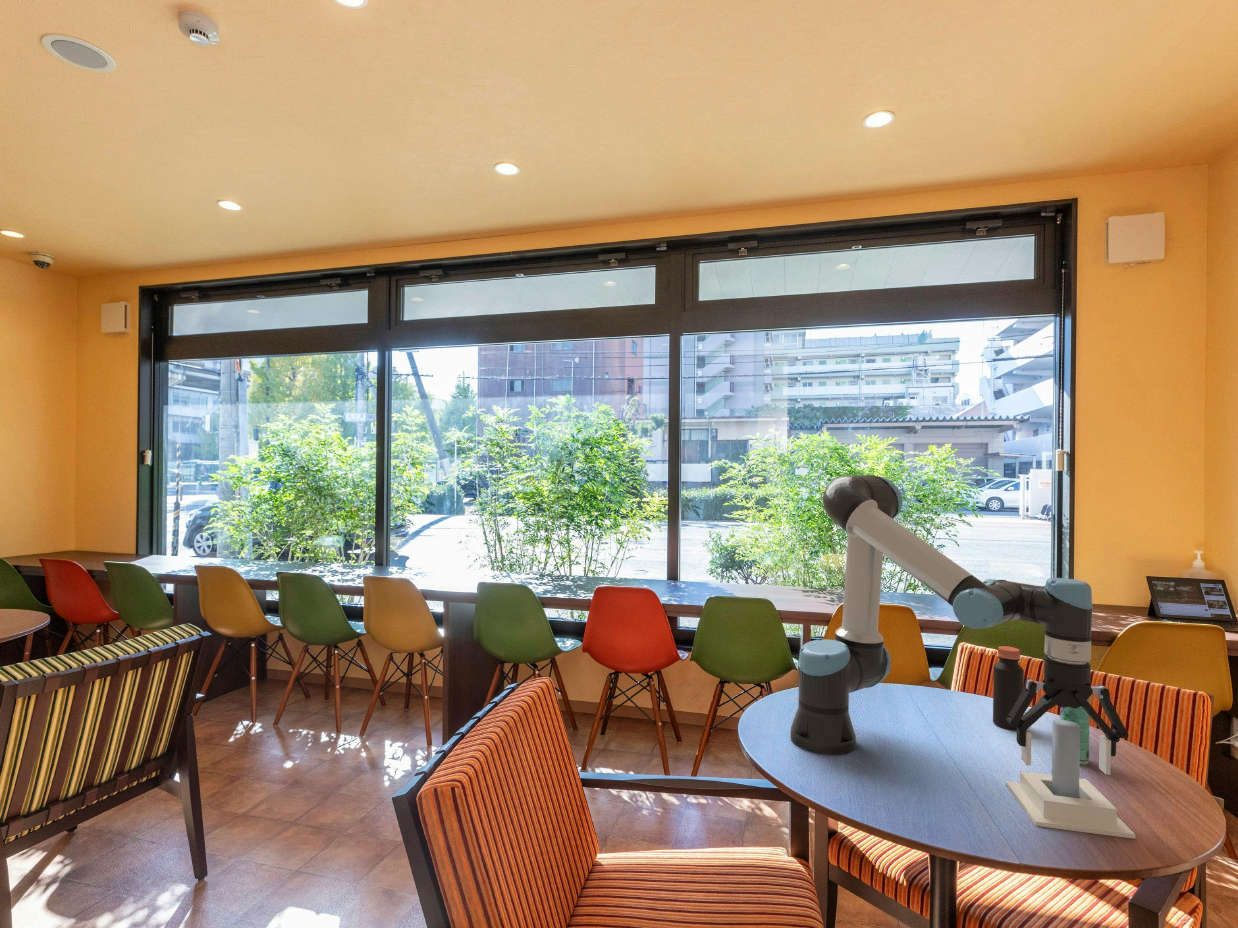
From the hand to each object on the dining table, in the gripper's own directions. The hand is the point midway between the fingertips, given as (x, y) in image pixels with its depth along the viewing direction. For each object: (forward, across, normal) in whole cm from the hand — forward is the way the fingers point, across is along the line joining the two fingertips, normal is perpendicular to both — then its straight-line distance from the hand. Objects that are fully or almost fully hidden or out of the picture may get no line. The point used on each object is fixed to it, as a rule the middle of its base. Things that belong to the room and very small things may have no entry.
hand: (1064, 766), depth 126 cm
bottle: (+9, +4, +44) cm, 45 cm away
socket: (+8, 0, 0) cm, 8 cm away
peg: (+7, 0, 0) cm, 8 cm away
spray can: (+9, +12, +26) cm, 30 cm away
